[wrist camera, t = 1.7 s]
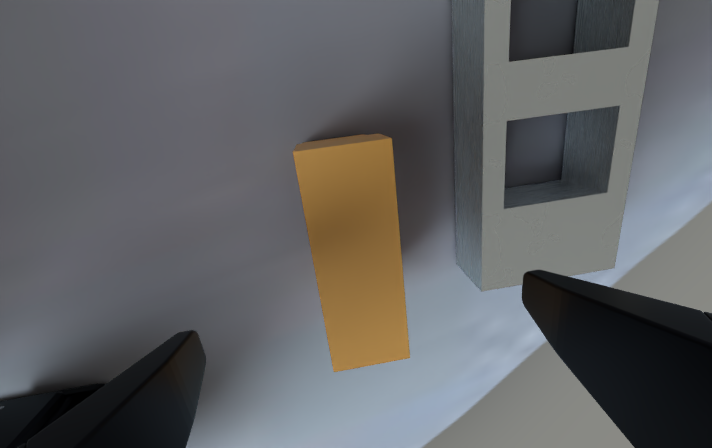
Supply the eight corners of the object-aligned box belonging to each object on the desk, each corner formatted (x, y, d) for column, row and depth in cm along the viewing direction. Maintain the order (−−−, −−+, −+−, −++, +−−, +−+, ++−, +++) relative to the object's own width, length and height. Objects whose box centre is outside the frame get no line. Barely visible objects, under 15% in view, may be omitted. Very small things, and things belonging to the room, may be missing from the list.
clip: (380, 280, 19) (410, 357, 13) (327, 289, 18) (333, 372, 13) (363, 127, 16) (391, 138, 10) (301, 136, 15) (292, 151, 10)
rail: (570, 245, 19) (614, 268, 16) (456, 264, 19) (481, 291, 16) (616, -162, 13) (698, -236, 10) (448, -149, 13) (486, -223, 10)
